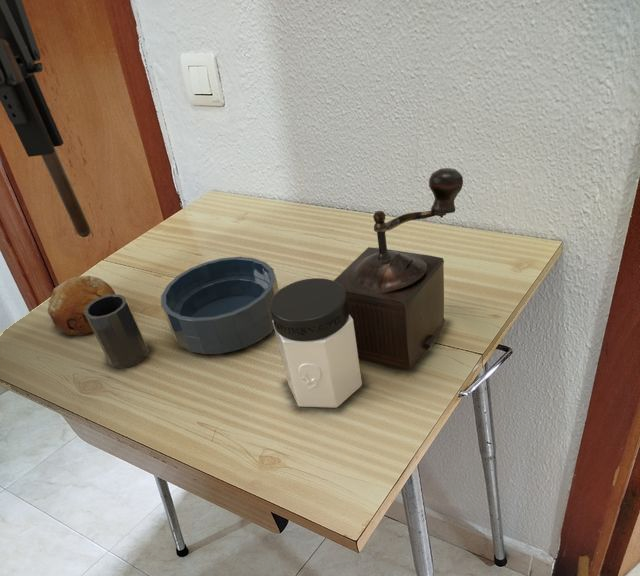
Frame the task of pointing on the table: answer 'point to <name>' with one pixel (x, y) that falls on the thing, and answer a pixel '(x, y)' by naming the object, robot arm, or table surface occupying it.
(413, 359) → the manual coffee grinder
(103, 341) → the holder
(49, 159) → the stick
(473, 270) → the table surface
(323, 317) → the jar
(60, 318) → the bread roll
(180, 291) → the bowl
